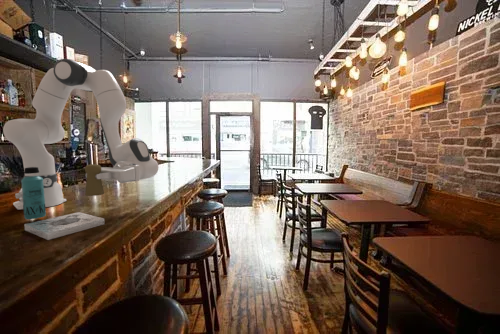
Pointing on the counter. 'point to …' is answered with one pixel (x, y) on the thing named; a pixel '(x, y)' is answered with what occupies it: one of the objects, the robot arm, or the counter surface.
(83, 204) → the counter surface
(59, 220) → the jig plate
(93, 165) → the olive peg doll
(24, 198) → the beverage bottle
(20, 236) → the counter surface
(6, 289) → the counter surface
